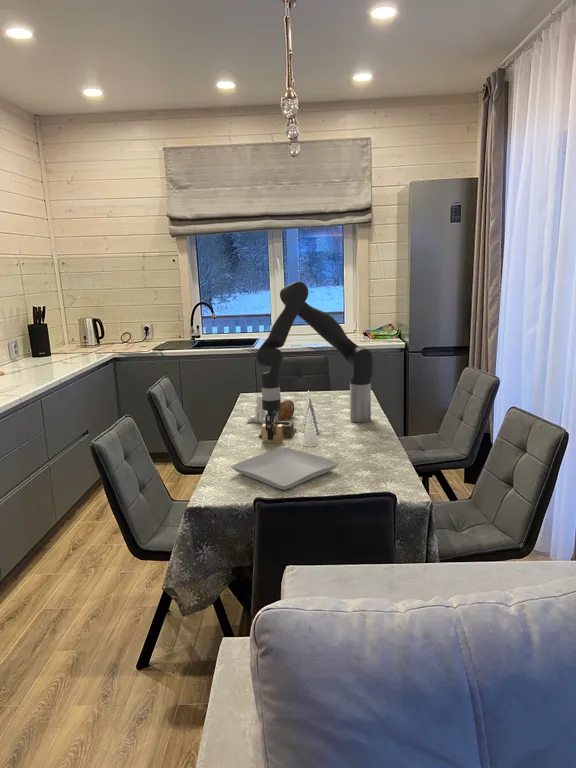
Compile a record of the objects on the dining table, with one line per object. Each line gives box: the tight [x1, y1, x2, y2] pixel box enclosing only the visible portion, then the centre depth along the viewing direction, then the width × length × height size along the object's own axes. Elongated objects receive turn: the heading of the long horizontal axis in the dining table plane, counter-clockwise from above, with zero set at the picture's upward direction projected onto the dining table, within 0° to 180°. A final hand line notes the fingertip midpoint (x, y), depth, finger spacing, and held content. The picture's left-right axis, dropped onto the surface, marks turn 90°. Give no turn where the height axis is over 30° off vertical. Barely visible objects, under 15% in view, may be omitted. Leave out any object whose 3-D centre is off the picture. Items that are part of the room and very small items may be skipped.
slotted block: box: [258, 420, 297, 439], centre depth 239 cm, size 14×12×4 cm
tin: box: [278, 399, 295, 421], centre depth 261 cm, size 15×3×8 cm, turn 143°
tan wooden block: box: [261, 423, 284, 444], centre depth 228 cm, size 8×3×7 cm, turn 80°
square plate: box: [230, 446, 340, 490], centre depth 194 cm, size 27×27×4 cm
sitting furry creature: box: [246, 395, 268, 424], centre depth 258 cm, size 10×9×12 cm
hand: (272, 436), depth 228 cm, fingers open, 8 cm apart
